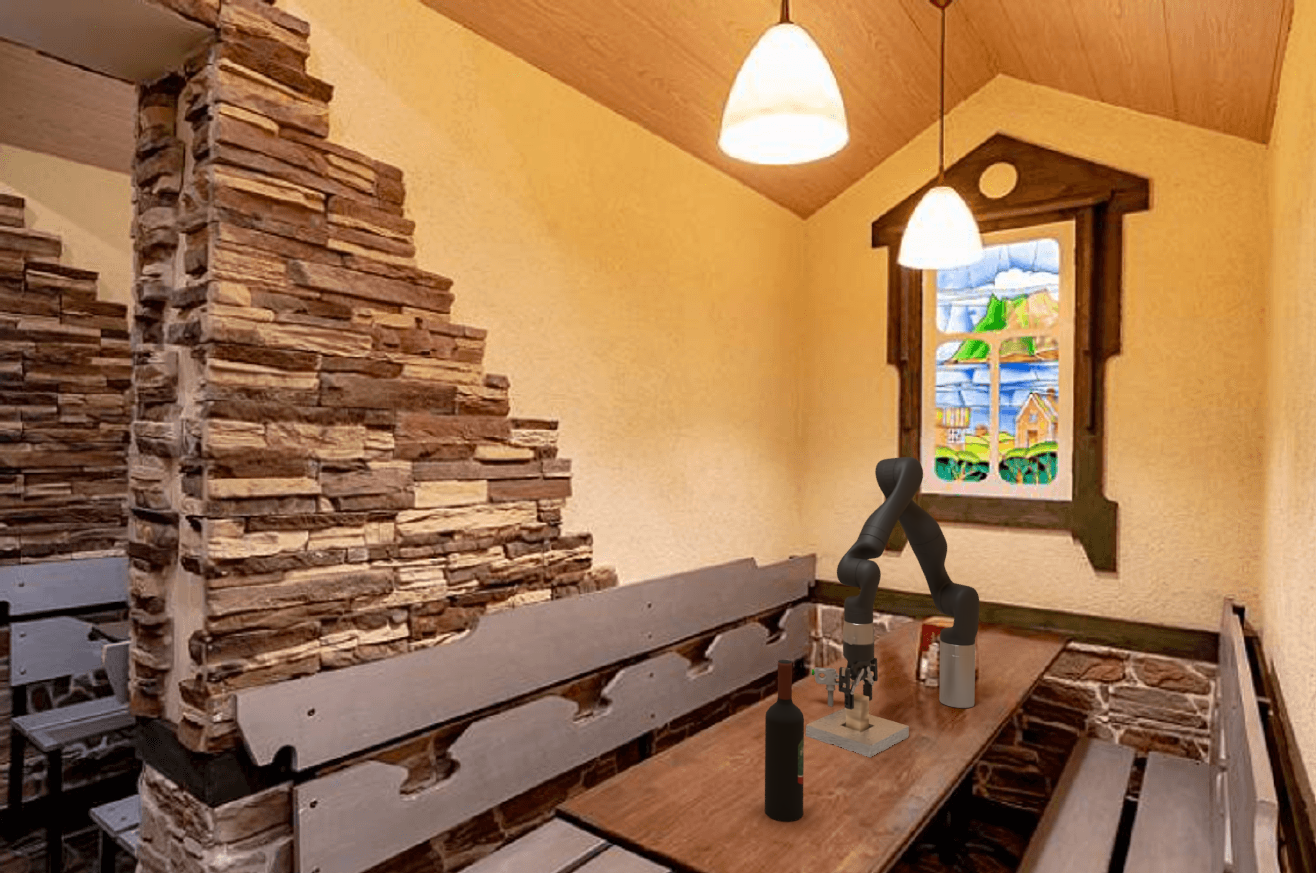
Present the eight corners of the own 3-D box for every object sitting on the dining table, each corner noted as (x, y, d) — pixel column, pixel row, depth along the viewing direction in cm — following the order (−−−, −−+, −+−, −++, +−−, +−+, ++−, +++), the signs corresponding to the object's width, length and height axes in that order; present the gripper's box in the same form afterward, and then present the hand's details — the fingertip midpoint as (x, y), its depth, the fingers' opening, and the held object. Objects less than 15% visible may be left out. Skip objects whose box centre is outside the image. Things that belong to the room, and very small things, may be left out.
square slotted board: (845, 717, 209) (845, 707, 209) (908, 737, 196) (908, 725, 196) (805, 735, 196) (805, 724, 196) (870, 757, 183) (870, 745, 183)
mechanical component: (849, 709, 216) (849, 672, 215) (811, 706, 218) (811, 670, 217) (849, 705, 218) (849, 669, 218) (811, 702, 220) (811, 666, 220)
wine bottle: (760, 804, 160) (762, 656, 160) (797, 802, 161) (798, 655, 161) (769, 822, 153) (770, 667, 152) (807, 821, 153) (809, 667, 153)
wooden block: (854, 732, 199) (855, 692, 199) (868, 736, 196) (869, 696, 196) (845, 736, 196) (846, 696, 196) (859, 741, 193) (860, 700, 193)
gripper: (860, 631, 203) (860, 693, 204) (829, 641, 193) (829, 707, 194) (886, 636, 198) (886, 700, 198) (856, 647, 188) (856, 715, 188)
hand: (858, 704), depth 196 cm, fingers open, 8 cm apart
